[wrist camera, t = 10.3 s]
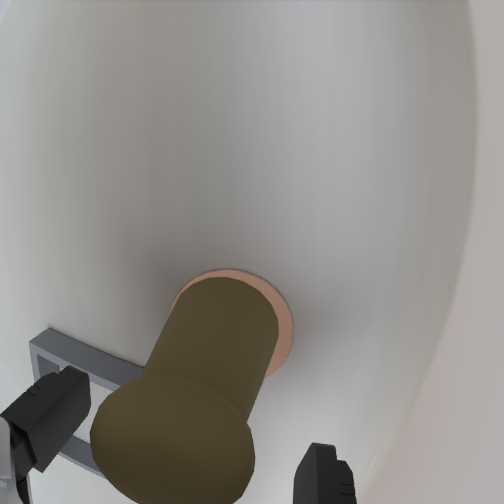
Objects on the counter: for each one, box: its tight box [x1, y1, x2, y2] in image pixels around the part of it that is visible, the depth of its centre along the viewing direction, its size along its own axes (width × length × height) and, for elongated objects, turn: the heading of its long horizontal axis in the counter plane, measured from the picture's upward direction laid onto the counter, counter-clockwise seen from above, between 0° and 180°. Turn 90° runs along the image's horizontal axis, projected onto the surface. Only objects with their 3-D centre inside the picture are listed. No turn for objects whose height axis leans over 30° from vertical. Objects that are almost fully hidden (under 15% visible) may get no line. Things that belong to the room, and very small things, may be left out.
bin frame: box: [29, 328, 144, 479], centre depth 20 cm, size 12×12×2 cm
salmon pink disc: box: [169, 269, 293, 378], centre depth 18 cm, size 7×7×1 cm
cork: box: [90, 277, 279, 504], centre depth 12 cm, size 6×6×11 cm
